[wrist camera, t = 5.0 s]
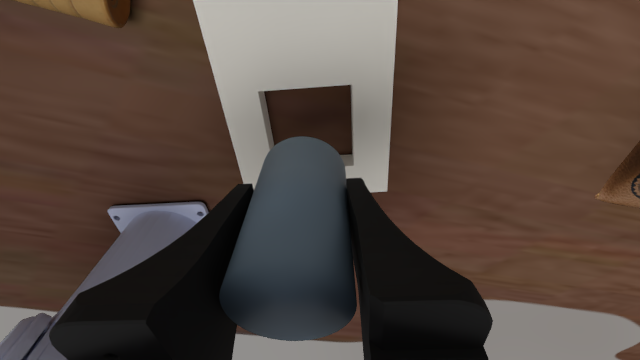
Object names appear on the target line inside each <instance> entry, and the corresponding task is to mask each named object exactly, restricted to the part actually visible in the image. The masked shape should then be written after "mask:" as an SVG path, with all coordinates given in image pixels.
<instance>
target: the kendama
mask: <svg viewBox="0 0 640 360" xmlns="http://www.w3.org/2000/svg"><path fill="white" fill-rule="evenodd" d="M13 1H19V2H21V3H25V4H29V5H33V6H38V7H42V8H45V9H49V10H53V11H57V12H61V13H65V14H68V15H72V16H76V17H80V18H85V19H87V20H90V21H94V22H98V23H101V24H104V25H108V26H111V27H115V28H122V27H123V26H124V25H125V24H126V22H127V20H128V18H129V14H130V6H131V2H130V0H13Z"/></svg>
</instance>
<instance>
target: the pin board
mask: <svg viewBox="0 0 640 360" xmlns="http://www.w3.org/2000/svg"><path fill="white" fill-rule="evenodd" d="M193 2H194V6H195V9H196V13H197V16H198V20H199V24H200V27H201V31H202V35H203V38H204V42H205V45H206V49H207V53H208V56H209V60H210V64H211V67H212V71H213V74H214V78H215V82H216V85H217V89H218V92H219V96H220V100H221V103H222V107H223V111H224V114H225V118H226V121H227V125H228V129H229V132H230V136H231V140H232V143H233V147H234V150H235V154H236V158H237V161H238V165H239V169H240V172H241V176H242V179H243V183H244V184H252V186H253V189H255V186H256V183H257V180H258V177H259V174H260V172H261V169H262V166H263V163H264V160H265V157H266V156H267V154H268V152H269V151H270V150H271V149H272V148H273V147H274V141H273V136H272V131H271V125H270V120H269V115H268V109H267V104H266V99H265V93H264V91H273V90H286V89H300V88H313V87H327V86H340V85H351V123H352V154H351V155H340V156H341V158H342V160H343V162H344V165H345V172H346V178H362V179H363V180H364V183H365V185H366V187H367V188H368V190H369V192H387V184H388V166H389V149H390V131H391V113H392V96H393V78H394V61H395V43H396V25H397V8H398V0H193Z"/></svg>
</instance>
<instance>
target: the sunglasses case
mask: <svg viewBox="0 0 640 360" xmlns="http://www.w3.org/2000/svg"><path fill="white" fill-rule="evenodd" d="M595 199H597V200H600V201H604V202H608V203H613V204H617V205H623V206H630V207H636V208H640V141H639V142H638V144H637V145H636V146H635V147H634V149H633V150H632V151H631V152H630V153H629V155H628V156H627V157H626V158H625V160H624V161H623V162H622V163H621V164H620V166H619V167H618V168H617V169H616V171H615V172H614V173H613V174H612V176H611V177H610V178H609V179H608V181H607V182H606V184H605V186H604V187H603V188H602V190H601V191H600V193H598V194H596V196H595Z"/></svg>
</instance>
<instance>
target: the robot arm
mask: <svg viewBox="0 0 640 360" xmlns="http://www.w3.org/2000/svg"><path fill="white" fill-rule="evenodd" d="M346 187H347V200H348V209H349V219H350V231H351V243H352V254H353V261H354V266H355V272H356V277H357V283H358V291H359V303H360V315H361V327H362V339H363V352H364V360H488V357H487V354H486V352H485V349H484V347H483V345H484V343H485V341H486V338H487V336H488V334H489V331H490V330H491V326H492V322H493V320H492V317H491V314H490V312H489V310H488V308H487V306H486V304H485V302H484V300H483V299H482V297H481V295H480V294H479V292H478V291H477V289H476V288H475V286H474V284H473V283H472V282H471V281H470V280H468V279H467V278H465V277H463V276H461V275H460V274H458V273H456V272H455V271H453V270H451V269H449V268H448V267H446V266H445V265H443V264H442V263H440V262H439V261H437V260H436V259H434V258H433V257H431V256H430V255H429V254H427V253H426V252H425V251H423V250H422V249H421V248H420V247H418V246H417V245H416V244H415V243H414V242H412V241H411V240H410V239H409V238H408V237H407V236H406V235H405V234H404V233H403V232H402V231H401V230H400V229H399V228H398V227H397V226H396V225H395V224H394V223H393V222H392V221H391V220H390V219H389V217H388V216H387V215H386V214H385V213H384V211H383V210H382V209H381V208H380V206H379V205H378V203H377V202H376V201H375V199H374V198H373V196H372V195H371V193H370V192H369V190H368V188H367V187H366V185H365V183H364V180H363V179H362V178H346ZM253 192H254V189H253V186H252V184H238V185H237V186H236V187H235V188H234V189H233V190H232V191H231V192H230V193H229V194H228V195H227V196H226V197H225V198H224V199H223V200H222V201H220V202H219V203H218V204H217V205H216V206H215V207H214V208H213V209H212V210H211V211H210V212H208V210H207V207H206V205H205V204H204V203H202V202H180V203H161V204H141V205H121V206H111V207H110V208H109V209H108V214H109V215H110V217H111V218H112V220H113V222H114V223H115V225H116V226H117V228H118V230H119V231H120V233H121V234H120V236H119V237H118V238H117V239H116V241H115V242H114V243H113V244H112V246H111V247H110V248H109V249H108V251H107V252H106V253H105V254H104V256H103V257H102V258H101V260H100V261H99V262H98V263H97V265H96V266H95V267H94V268H93V270H92V271H91V272H90V273H89V275H88V276H87V277H86V279H85V280H84V281H83V282H82V284H81V285H80V286H79V287H78V289H77V290H76V291H75V292H74V294H73V295H72V296H71V297H70V299H69V300H68V301H67V303H66V304H65V305H64V306H63V308H62V309H61V310H60V311H59V312H58V313H57V314H56V315H55V316H54V317H53V318H52V317H51V316H49V315H47V314H45V313H40V314H38V315H36V316H35V317H29V318H26V319H23V320H22V321H20V322H19V323H18V324H17V325H16V326H15V328H14V329H13V330H12V331H11V332H10V333H9V334H8V335H7V336H6V337H5V338H4V339H3V341H2V342H1V343H0V360H232V353H233V347H234V340H235V334H236V328H237V324H236V323H235V322H233V321H232V320H231V319H230V318H229V317H228V316H227V315H226V313H225V312H224V310H223V308H222V307H221V304H220V298H219V294H220V289H221V286H222V283H223V280H224V277H225V274H226V271H227V268H228V265H229V262H230V260H231V257H232V254H233V251H234V248H235V245H236V242H237V239H238V236H239V233H240V230H241V227H242V224H243V221H244V218H245V216H246V213H247V210H248V207H249V204H250V201H251V198H252V195H253ZM200 212H202V213H200Z"/></svg>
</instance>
